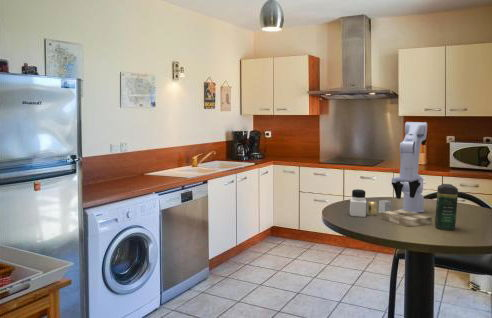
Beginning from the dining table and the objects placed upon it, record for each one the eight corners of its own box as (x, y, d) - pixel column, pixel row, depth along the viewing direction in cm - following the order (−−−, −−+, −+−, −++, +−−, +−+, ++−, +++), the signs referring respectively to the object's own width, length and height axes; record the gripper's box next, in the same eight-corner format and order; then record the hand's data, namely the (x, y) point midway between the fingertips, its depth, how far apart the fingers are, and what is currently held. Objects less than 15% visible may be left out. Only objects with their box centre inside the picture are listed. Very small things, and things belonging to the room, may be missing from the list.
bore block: (403, 215, 208) (403, 209, 207) (431, 223, 193) (431, 217, 193) (381, 218, 201) (381, 212, 201) (408, 226, 187) (408, 219, 187)
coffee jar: (456, 231, 181) (459, 186, 179) (435, 229, 184) (438, 185, 182) (453, 225, 190) (456, 183, 188) (434, 224, 193) (436, 182, 191)
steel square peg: (384, 212, 216) (385, 199, 215) (390, 213, 212) (391, 201, 211) (378, 212, 214) (379, 200, 213) (384, 214, 210) (385, 202, 210)
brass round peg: (372, 213, 212) (372, 201, 211) (378, 215, 208) (378, 202, 208) (365, 214, 210) (366, 201, 210) (371, 215, 207) (372, 203, 206)
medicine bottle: (366, 217, 204) (367, 191, 202) (350, 216, 205) (351, 190, 204) (365, 213, 211) (366, 188, 209) (349, 212, 212) (350, 188, 211)
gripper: (400, 169, 190) (398, 200, 191) (426, 168, 195) (424, 198, 196) (389, 167, 196) (387, 197, 198) (414, 166, 202) (413, 195, 203)
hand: (405, 198), depth 198 cm, fingers open, 7 cm apart
